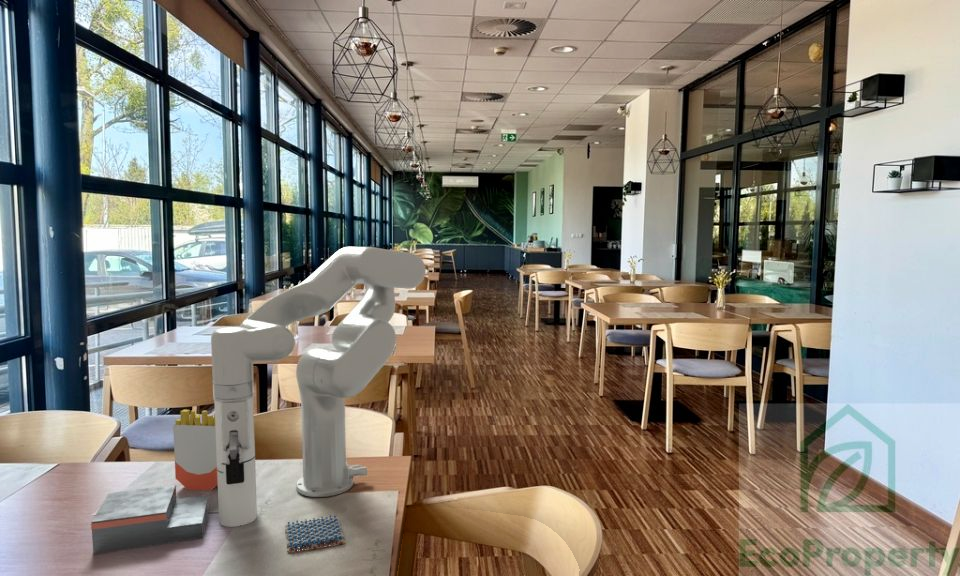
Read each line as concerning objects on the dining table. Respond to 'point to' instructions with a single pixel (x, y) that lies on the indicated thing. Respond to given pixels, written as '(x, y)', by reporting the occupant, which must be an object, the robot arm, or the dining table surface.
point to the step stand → (147, 519)
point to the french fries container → (195, 451)
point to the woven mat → (314, 533)
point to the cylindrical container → (240, 497)
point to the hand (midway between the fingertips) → (236, 473)
